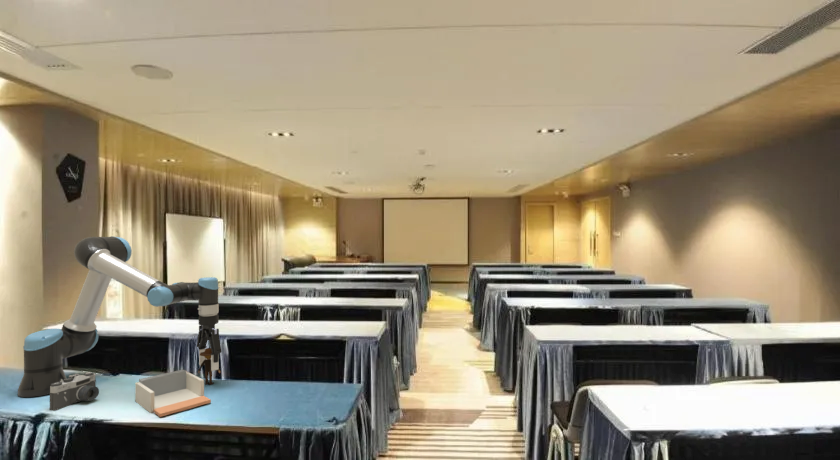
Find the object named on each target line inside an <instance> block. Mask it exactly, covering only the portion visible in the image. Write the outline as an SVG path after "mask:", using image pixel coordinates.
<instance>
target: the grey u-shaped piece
mask: <svg viewBox="0 0 840 460" xmlns="http://www.w3.org/2000/svg"><path fill="white" fill-rule="evenodd" d="M134 385H135V386H134V387H135V388H134V390H135V392H134V396H135V397H134V398H135V399H134V400H135V401H134V402H136V403H137V404H138V405H139V406H141V407H142V408H143V409H145V410H146V411H147V412H149V414H153V413H154V409H156V408H160V407H163V406H167V405H171V404H174V403H178V402H182V401H186V400H189V399H193V398H197V397H200V396H205V380H204V379H202V378H201V377H199V376H198V375H195V374H193V373H191V372H189V371H187V370H185V369H180V370H175V371H170V372H166V373H161V374H157V375H152V376H148V377H147V376H146V377H142V378H139V379H138V381H137V382H135V383H134Z"/></svg>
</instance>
